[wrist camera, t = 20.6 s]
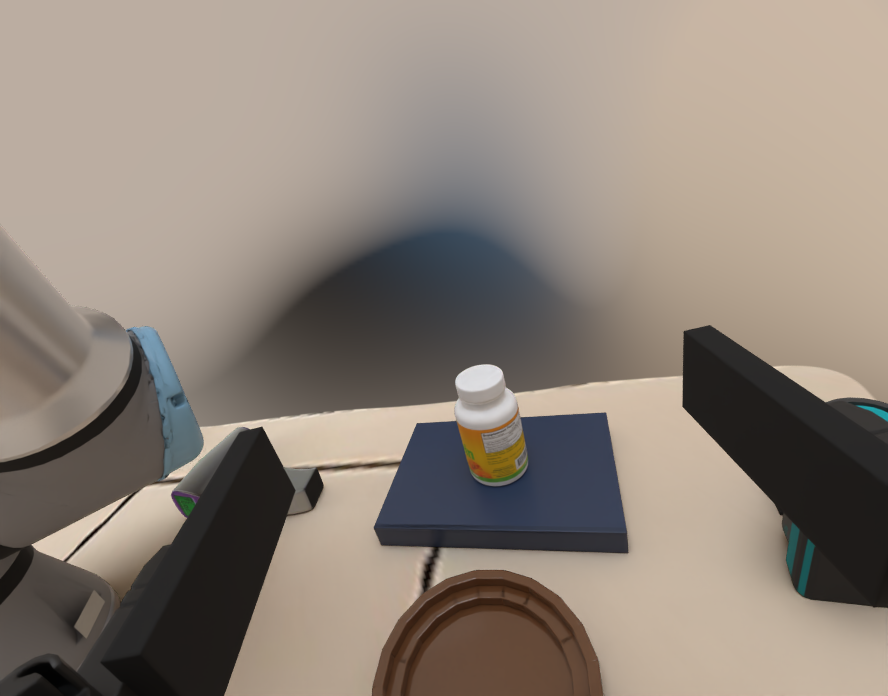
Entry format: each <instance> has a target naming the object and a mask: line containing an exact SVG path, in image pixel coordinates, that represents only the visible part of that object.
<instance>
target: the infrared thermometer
mask: <svg viewBox="0 0 888 696" xmlns="http://www.w3.org/2000/svg"><path fill="white" fill-rule="evenodd" d="M246 430H250V429H248V428H245V427H238V428H236V429H235V430H234V431H233V432H232V433H230V434H229V435H228V436H227V437H226V438H225V439H224V440H222V441H221V442H220V443H219V444H218V445H217V446H216V447H214V448H213V449H212V450H211V451H210V452H209V453H208V454H206V455H205V456H204V457H203V458H202V459H201V460H200V461H199V462H198V463H197V464H196V465H195V466H194V467H193V468H192V470H191V471H190V472H189V473H188V474H187V475H186V476H185V478H184V479H183V480H182V481H181V482H180V483H179V484H178V486H177V487H176V488H175V489H174V490H173V491H172V494H171V497H172V499H173V502H174V503H175V505H176V507H177V508H178V510H179V511H180V512H181V513H182V514H183V515H184V516H185V517H186V518H188V516H189V514H190V513H191V511H192V509H193V508H194V506H195V504H196V503H197V501H198V499H199V498H200V496H201V494H202V493H203V491H204V489H205V488H206V486H207V485H208V483H209V481H210V480H211V478H212V476H213V475H214V473H215V471H216V470H217V468H218V466H219V465H220V463H221V461H222V460H223V458H224V456H225V455H226V453H227V451H228V450H229V448H230V447H231V445H232V443H233V442H234V440H235V438H236V437H237V435H238V433H239V432H242V431H246ZM284 469H285V471H286V473H287V475H288V477H289V478H290V480H291V482H292V484H293V486H294V488H295V490H296V491H295V494H294V497H293V500H292V503H291V505H290V508H289V511H288V514H296V513H301V512H305V511H309V510H311V509H313V508H314V506H315V504H316V502H317V500H318V498H319V496H320V494H321V492H322V490H323V487H324V485H323V482H322V479H321V477H320V474H319V472H318V470H317V468H312V469H291V468H285V467H284ZM288 514H287V515H288Z"/></svg>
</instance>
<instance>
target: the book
mask: <svg viewBox="0 0 888 696" xmlns="http://www.w3.org/2000/svg"><path fill="white" fill-rule="evenodd" d="M520 419H521V424H522V429H523V434H524V439H525V444H526V449H527V455H528V466H527V469H526V471H525V472H524V474H523V475H522V476H521V477H520V478H519V479H517V480H516V481H514V482H512V483H510V484H507V485H503V486H489V485H485V484H482V483H480V482H478V481H477V480H476V479H475V478H474V477H473V476H472V474H471V471H470V468H469V465H468V461H467V457H466V454H465V450H464V447H463V443H462V439H461V436H460V432H459V428H458V425H457V421H450V422H433V423H417V424H416V427H415V429H414V432H413V434H412V437H411V439H410V441H409V444H408V446H407V449H406V451H405V453H404V456H403V458H402V461H401V463H400V465H399V468H398V470H397V473H396V475H395V477H394V480H393V482H392V485H391V487H390V490H389V492H388V494H387V497H386V499H385V502H384V504H383V506H382V509H381V511H380V514H379V516H378V518H377V521H376V523H375V526H374V530H375V532H376V534H377V536H378V539H379V541H380V543H381V545H396V546H428V547H459V548H490V549H522V550H553V551H585V552H616V553H628V540H627V530H626V524H625V518H624V512H623V507H622V501H621V495H620V489H619V484H618V478H617V472H616V466H615V461H614V455H613V449H612V443H611V438H610V432H609V426H608V420H607V415H606V413H590V414H573V415H555V416H538V417H520Z"/></svg>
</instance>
